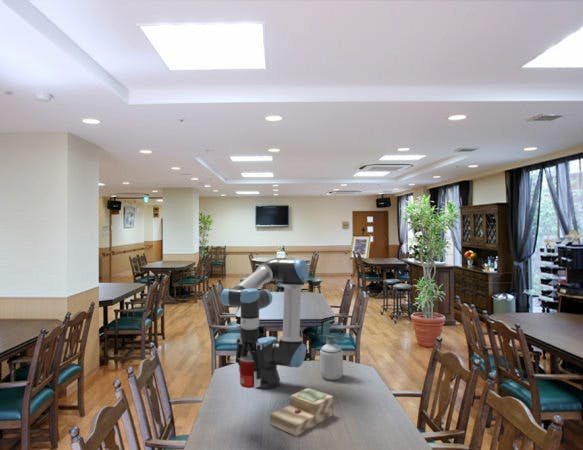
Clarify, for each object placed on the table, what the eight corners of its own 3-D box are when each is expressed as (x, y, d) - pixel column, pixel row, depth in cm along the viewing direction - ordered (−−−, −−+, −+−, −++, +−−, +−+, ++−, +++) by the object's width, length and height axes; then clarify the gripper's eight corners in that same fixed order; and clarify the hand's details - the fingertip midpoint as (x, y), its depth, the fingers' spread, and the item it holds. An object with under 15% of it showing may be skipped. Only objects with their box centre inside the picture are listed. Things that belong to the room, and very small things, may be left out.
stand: (296, 436, 155) (296, 414, 155) (270, 424, 164) (270, 403, 164) (333, 414, 172) (333, 395, 172) (308, 405, 182) (308, 386, 182)
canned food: (256, 389, 158) (256, 361, 158) (237, 387, 160) (237, 359, 160) (261, 381, 165) (261, 354, 166) (243, 380, 167) (243, 353, 167)
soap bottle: (334, 383, 208) (334, 322, 208) (315, 377, 216) (315, 319, 216) (347, 376, 217) (347, 318, 217) (328, 371, 225) (328, 315, 225)
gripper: (226, 324, 167) (226, 379, 167) (260, 333, 153) (260, 393, 153) (240, 321, 173) (240, 375, 172) (274, 330, 158) (274, 388, 158)
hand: (249, 383), depth 163 cm, fingers closed on canned food, 8 cm apart
